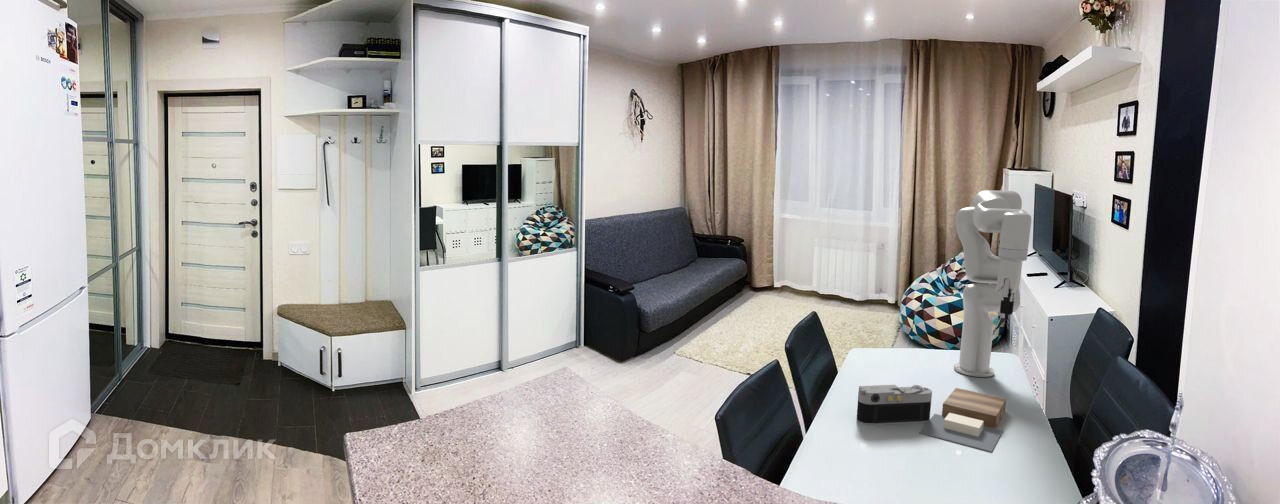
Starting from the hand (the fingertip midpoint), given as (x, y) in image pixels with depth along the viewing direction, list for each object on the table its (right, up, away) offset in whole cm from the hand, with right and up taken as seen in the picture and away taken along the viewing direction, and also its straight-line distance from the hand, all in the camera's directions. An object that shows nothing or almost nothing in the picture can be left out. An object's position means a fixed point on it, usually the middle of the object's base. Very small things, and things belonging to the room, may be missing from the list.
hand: (1006, 313), depth 198 cm
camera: (-38, -30, -7) cm, 49 cm away
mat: (-21, -32, -16) cm, 41 cm away
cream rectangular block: (-20, -29, -15) cm, 38 cm away
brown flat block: (-12, -30, -3) cm, 32 cm away
